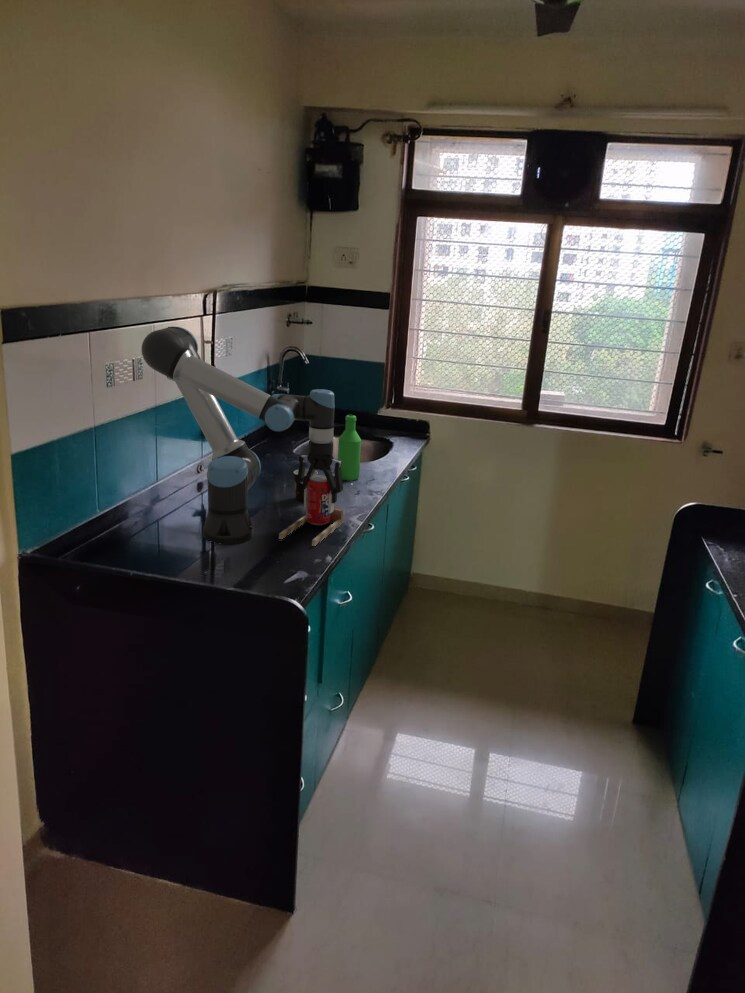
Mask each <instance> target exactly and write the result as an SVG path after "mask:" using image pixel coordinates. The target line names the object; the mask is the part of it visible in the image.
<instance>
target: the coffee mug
mask: <svg viewBox="0 0 745 993" xmlns="http://www.w3.org/2000/svg"><path fill="white" fill-rule="evenodd" d="M298 471H299V468H298V469H296V470H294V471H293V478H294V489H295V499H296V501H297V502H299V503H304V498H302V488H301V487H300V486H297V485H296V482H297V476H298ZM308 471H309V468H305V474H304V479H305V477H306V475H307V473H308ZM313 475H319V472H318V471H317V470H315V471H314V474H313ZM304 479H303V482H304Z"/></svg>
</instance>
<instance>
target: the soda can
mask: <svg viewBox="0 0 745 993" xmlns="http://www.w3.org/2000/svg"><path fill="white" fill-rule="evenodd" d="M329 493H331V490H330V487H329V484H328V481H327V478H326V476H325V474H324V475H323V474H318V475H313V476H311V477H309V480H308V482H307V503H306V509H305V510H306V511H305V513H306V514H305V515H306V520H307V523H309V524H311V525H313V526H325V525H327V524H330V523H329V522H330V520H331V513H328V505H329Z"/></svg>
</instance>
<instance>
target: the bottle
mask: <svg viewBox="0 0 745 993" xmlns="http://www.w3.org/2000/svg"><path fill="white" fill-rule="evenodd" d="M344 418H345V419H344V420H345V430H343V432H342V434H340V436H339V438H338V444H337V446H338V447H337V448H338V449H337V461H339V460H341V461H342V465H341V474H342V481H352V482H353V481H356V480H357V479H359V478H360V469H361V468H360V466H361V448H362V447H361V446H362V439H361V437H360V435H359V434H358V432H357V430H356V422H357V416H356V415H353V414H347V415H346V416H345V417H344Z"/></svg>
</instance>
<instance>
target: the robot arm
mask: <svg viewBox="0 0 745 993" xmlns="http://www.w3.org/2000/svg"><path fill="white" fill-rule="evenodd" d="M198 350H199V346H198V341H197V339H196V337H195V336H194V334H193V333H192V332H191V331H189V330H188V329H187V328H184V327H181V326H168V327H164V328H162V329H156V330H153V331H152V332H150V333H148V334H147V335H146V336H145V338H144V339H143V341H142V343H141V355H142V358H143V360H144V362H145V363H146V365H147V366H149V367H150V368H151V369H153V370H154V371H156V372H157V373H160V374H161V375H164V376H165V377H166V378H167V379H168V380H169V381H173V382H174V383H175V384H176V386H177V387H178V390H179V391H180V393H181V395H182V397H183V398H184V400H185V402H186V404H187V406H188V408H189V410H190V412H191V413H192V416H193V417H194V419H195V420H196V422H197V423H196V424H198V427H199V428H200V430H201V431H202V434H203V436H204V437H205V439H206V441H207V442H208V446H210V448H211V450H212V455H211V457H210V459H211V461H210V462H209V463H208V465H207V471H206V478H207V507H208V508H207V514H206V518H205V522H204V525H203V527H202V537H204V538H205V539H206V540H205V539H204V538H203V539H204V540H205V541H207V540H208V541H207V542H209V541H212V542H215V543H214V544H217V543H221V544H220V545H235V543H237V544H241V543H240V542H242V543H244V542H247V540H248V541H249V540H251V539H252V538H253V537H254V526H253V524H252V520H251V517H250V515H249V512H248V491H249V490H250V488H252V486H253V485H254V484H255V483H256V482H257V480H258V479H259V476H260V474H261V468H262V467H261V466H262V465H261V461H260V459H259V457H258V455H257V454H256V453H255V452H254V451H253V450H251V449H249V446H248V445H247V443H246V442H245V441H244V440H241V439H239V438H238V436H236V433H235V430H234V429H233V427H232V426H231V423H230V422H229V419H228V418H227V416H226V415H225V412H224V410H223V409H222V406H221V405H220V403H219V401H218V399H219V400H220V401H223V402H225V403H227V404H228V405H231V406H232V407H234V408H236V409H239V410H241V411H243V412H245V413H246V414H248V415H251V416H253V417H254V418H257V419H259V420H260V421H263V422H264V423H265V424H266V426H267V427H268V428H269V429H270V430H272V431H273V432H278V433H279V432H283V431H285V430H287V429H289V428H290V427H291V426H292V425H293V423H294V422H295V421H305V422H307V421H308V422H309V426H308V427H309V428H308V429H309V430H308V439H309V440H308V454H307V455H305V454H302V455H300V456H298V459H299V460H298V461H299V466H298V469H299V471H298V476H297V482H296V485H297V486H300V487H301V488H302V498H304V502H303V510H306V503H307V482H308V480H309V477H311V476H313V474H314V471H317V470H320V471H321V472H323V474H324V475H325V476H326V478H327V481H328V484H329V487H330V490H331V493H329V505H328V513H332V512H333V511H334V508H335V504H336V503H337V501H338V494H339V493H342V492H343V491H344V485H343V480H342V474H341V465H342V461H341V460H339V461H338V459H335V458H334V457H333V455H334V454H333V453H334V452H333V451H334V441H333V440H334V429H335V428H334V427H335V409H336V408H335V407H336V406H335V392H333V391H332V390H328V389H325V388H322V389H321V388H320V389H319V388H318V389H312V390H310V392H309V395H296V394H286V393H274V394H272V395H270V394H269V393H266V392H265V391H263V390H261V389H259V388H258V387H256V386H255V387H254V386H253V385H250V384H249V383H247V382H245V381H243V380H241V379H239V378H237V377H236V376H233V375H231V374H229V373H228V372H226V371H223V370H221V368H218V367H216V366H213V365H212V364H210V363H208V362H206V361H204V360H202V359H201V357H200V355H199V353H198ZM307 462H309V467H308V469H309V471H308V473H307V475H306V477H305V479H304V474H305V469H307ZM331 465H333V468H334V469H333V470H334V475H333V472H332V467H331ZM303 479H304V482H303ZM212 542H211V543H212Z"/></svg>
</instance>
